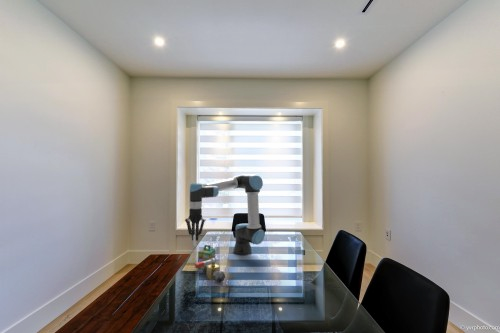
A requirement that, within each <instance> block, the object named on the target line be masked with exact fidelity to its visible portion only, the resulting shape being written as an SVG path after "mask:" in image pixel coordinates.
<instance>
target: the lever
mask: <svg viewBox="0 0 500 333" xmlns="http://www.w3.org/2000/svg"><path fill="white" fill-rule="evenodd" d="M209 264H217V258H216V257H215V258H211V259H210V260H207V261H201V262H198V261H197V262H194V268H195V269H198V268H201V267H204V266H206V265H209Z"/></svg>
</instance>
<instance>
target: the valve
mask: <svg viewBox="0 0 500 333" xmlns="http://www.w3.org/2000/svg"><path fill="white" fill-rule="evenodd" d="M220 269H221V267H220V265H218V264H217V263H216V264H209V265H206V266H204V267H202V269H201V271H202V273H205V274H206V278H208V279H209V280H210V281H215V282H216V283H217V284H222V283H223V282H224V280H225V279H226V273H225V272H224V271H221V270H220Z"/></svg>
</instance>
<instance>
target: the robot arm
mask: <svg viewBox="0 0 500 333" xmlns="http://www.w3.org/2000/svg"><path fill="white" fill-rule="evenodd" d="M262 179H263V178H262V177H261V176H260V175H258V174H253V173H252V174H251V173H250V174H248V173H247V174H244V173H243V174H239V175H236V176H231V177H230V178H227V179H221V180H217V181H213V182H207V183H198V182H197V183H190V185H189V213H188V214H189V216H188V217H187V218H185V219H184V221H185V223H186V226H187V232H188V235H191V241H193V242H192V243H193V244H192V246H193V247H196V246H197V245H198V241H199V236H200V235H201V234H202V232H203V228H204V225H205V222H206V220H207V219H206V218H204V217H203V215H202V214H203V213H202V212H203V210H202V209H203V199H205V198H206V199H207V198H216V197H218V196H219V192H221V191H225V190H230V189H234V190H235V189H244V193H245V194H246V196H247V198H246V200H247V202H246V203H247V221H248V223H239V224H236V225H235V243H234V247H233V254H235V255H238V256H248V255H250V254H252V251H253V250H252V247H251V244H253V245H260V244H262V242H263V241H264V239H265V236H266V234H265V231H264V230H263V229H262V225H261V224H260V212H259V211H260V210H259V194H260V191H261V190H262V188H263V184H264V181H263V180H262Z"/></svg>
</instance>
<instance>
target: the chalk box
mask: <svg viewBox="0 0 500 333" xmlns="http://www.w3.org/2000/svg"><path fill="white" fill-rule="evenodd" d="M211 258H216V249H214V248H211V245H207V244H205V245H203V248H201V250H199V251H197V263H198V262H201V261H207V260H210V259H211ZM197 269H199V270H202V267H201V268H197Z"/></svg>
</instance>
